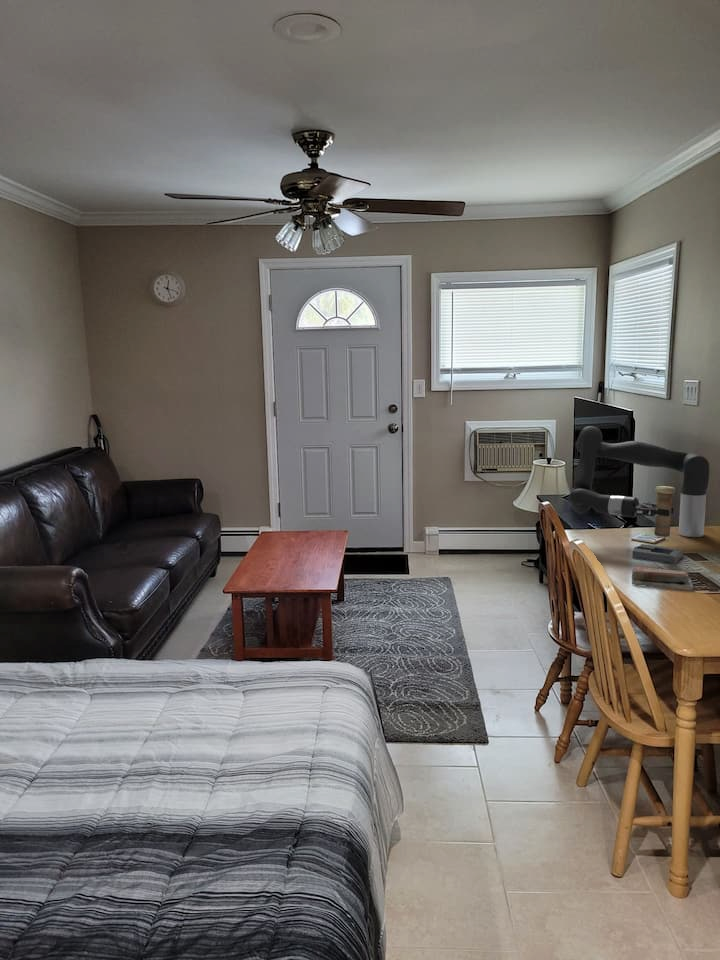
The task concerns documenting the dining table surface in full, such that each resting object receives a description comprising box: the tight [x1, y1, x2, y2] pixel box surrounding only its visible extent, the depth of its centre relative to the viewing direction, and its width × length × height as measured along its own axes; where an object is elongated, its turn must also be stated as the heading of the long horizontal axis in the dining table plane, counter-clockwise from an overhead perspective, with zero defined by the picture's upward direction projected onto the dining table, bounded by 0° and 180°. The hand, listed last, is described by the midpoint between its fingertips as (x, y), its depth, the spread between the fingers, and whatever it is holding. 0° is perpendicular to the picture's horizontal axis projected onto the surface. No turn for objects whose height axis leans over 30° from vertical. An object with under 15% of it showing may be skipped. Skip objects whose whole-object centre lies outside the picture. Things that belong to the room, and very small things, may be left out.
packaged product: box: [631, 566, 694, 591], centre depth 221 cm, size 18×5×10 cm
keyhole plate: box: [631, 543, 684, 564], centre depth 250 cm, size 12×15×2 cm
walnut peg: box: [654, 485, 676, 538], centre depth 247 cm, size 6×6×18 cm
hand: (671, 511), depth 245 cm, fingers closed on walnut peg, 5 cm apart
